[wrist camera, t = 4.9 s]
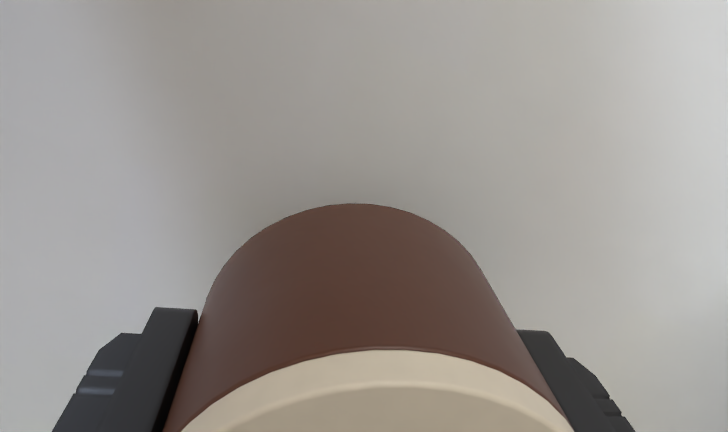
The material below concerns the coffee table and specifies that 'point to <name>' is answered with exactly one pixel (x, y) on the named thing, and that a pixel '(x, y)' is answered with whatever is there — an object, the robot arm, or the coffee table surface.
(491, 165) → the coffee table surface
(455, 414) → the cake
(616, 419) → the robot arm
